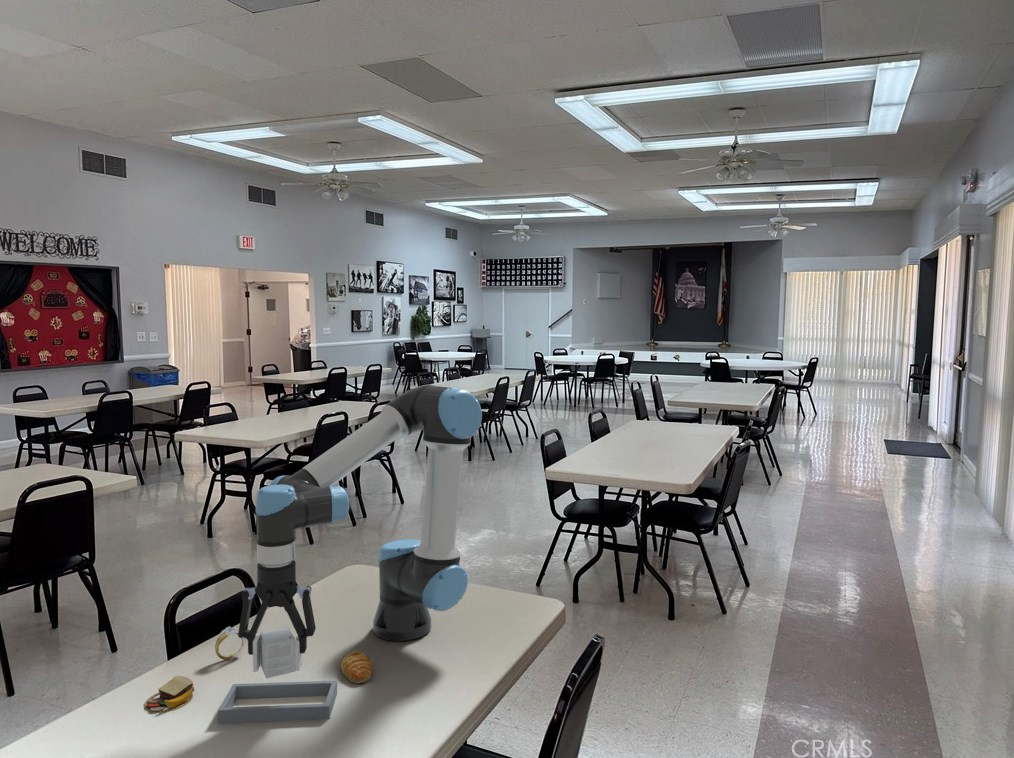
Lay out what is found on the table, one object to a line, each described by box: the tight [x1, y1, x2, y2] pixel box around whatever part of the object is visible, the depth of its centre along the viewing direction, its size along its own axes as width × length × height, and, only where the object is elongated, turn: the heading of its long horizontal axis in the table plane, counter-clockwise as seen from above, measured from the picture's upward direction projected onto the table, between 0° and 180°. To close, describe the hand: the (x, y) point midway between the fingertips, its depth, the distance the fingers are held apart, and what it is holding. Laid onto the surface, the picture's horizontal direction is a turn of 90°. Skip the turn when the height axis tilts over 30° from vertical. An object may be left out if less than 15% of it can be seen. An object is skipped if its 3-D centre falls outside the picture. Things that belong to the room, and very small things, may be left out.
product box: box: [259, 627, 297, 680], centre depth 145 cm, size 6×6×7 cm
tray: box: [217, 680, 338, 725], centre depth 146 cm, size 22×10×4 cm, turn 95°
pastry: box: [340, 650, 373, 684], centre depth 160 cm, size 9×7×4 cm
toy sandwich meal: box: [143, 675, 195, 714], centre depth 149 cm, size 9×10×4 cm
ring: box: [214, 625, 247, 661], centre depth 167 cm, size 7×3×8 cm, turn 122°
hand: (277, 667), depth 145 cm, fingers closed on product box, 8 cm apart
